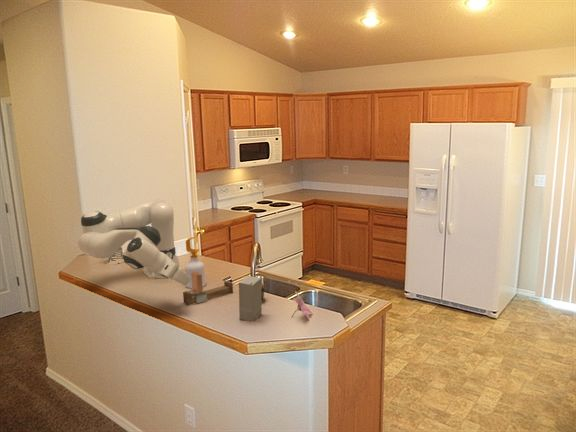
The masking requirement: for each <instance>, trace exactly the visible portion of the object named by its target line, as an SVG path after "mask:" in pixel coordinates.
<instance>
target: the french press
mask: <svg viewBox="0 0 576 432" xmlns="http://www.w3.org/2000/svg"><path fill="white" fill-rule="evenodd" d="M123 254H124V253H123V247H122V246H121V247H120V249H119V250H118V251H117V252H116V253H115V254H114V255H113V256H111V257H109V258H108V261H109V260H111V261H116V260H113V259H123ZM112 257H117V258H112ZM121 257H122V258H121ZM123 260H124V259H123Z"/></svg>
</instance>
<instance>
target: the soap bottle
mask: <svg viewBox="0 0 576 432" xmlns="http://www.w3.org/2000/svg"><path fill="white" fill-rule="evenodd" d="M197 237H198V235H195V236H194V235H193V236H191V237H189V238H187V239H186V240H185V249H186V251H187V253H190V254H191V255H190V261H189V262H187V263H186V264H185V266H184V267H185V268H184V269H185V271H184V273H185V274H186V275H187V276H189V278H190V281H189V282H188V284H187V285H186V286H185V287H187V288H188V289H192V276H191V273H193V272H198V273H200V274H202V287H203V288H204V287H205V285H206V273H205V271H206V270H205V264H204V263H203V262H202V261H200V260H199V259H198V258H199V257H198V255H197V253H198V252H199V251H200V249H199V248H198V249H197V248H191V240H193V239H196V238H197Z"/></svg>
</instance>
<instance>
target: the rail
mask: <svg viewBox="0 0 576 432" xmlns="http://www.w3.org/2000/svg"><path fill="white" fill-rule="evenodd" d="M223 284H224V285H221V286H216V287H213V288H209V289H207V290H205V291H206V294H207V301H209V300H212V299H216V298H219V297H223V296H227V295H230V294H233V293H234V287H233V285H234V284H233V281H230V280H224V281H223ZM182 297H183V300H182V301H183V304H185V305H187V306H190V305H196V304H197V303H196V301H195V296H194V295H192V294H191V293H190V292H189V290H186V291H182Z"/></svg>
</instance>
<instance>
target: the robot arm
mask: <svg viewBox="0 0 576 432" xmlns="http://www.w3.org/2000/svg"><path fill="white" fill-rule="evenodd" d="M174 216H175V214H174V209H173V207H172V206H171V204H169V203H167V202H166V201H165V200H162V199H155V200H152V201H148V202H144V203H143V204H140V205H136V206H134V207H130V208H125V209H121V210H118V211H114V212H112V213H109V214H105V213H103V212H101V211H97V210H96V211H88V212H87V213H85V214H83V215H82V216H81V218H80V225H81V226H82V232H83V234H82V235H80V237H79V238H78V240H77V246H78V249H79V250H80V251H81V252H82V253H84V254H86V255H88V256H91V257H93V258H94V257H95V258H98V259H109V257H111V256H113V255H116V254H115V253H117V251H118V250H119V249H120V247H121V248H122V246H123V245H125V243H127V242H129V243H128V244H127V246H126V249H125V251H124V253H123V260H124V263H125V264H126V265H127V266H129V267H131V268H132V269H134V270H140V269H143V268H144V269H143V270H142V271H144V272H145V273H144V272H143V273H144V275H147V276H146V277H147V279H148V278H149V279H165V278H166V279H171V280H174V281H175V282H176V283H179V284H181V285H183V286H185V287H187V286H186V285H187V284H188V282H189V281H190V278H189V276H187V275H186V273H185V271H183V268H182V267H180V261H179V259H180V258H179V256H178V255H177V254H176V253H177V252H176V247H175V238H174V237H175V236H174V226H175V225H174V224H175V221H174V218H175V217H174ZM150 225H151V226H150Z"/></svg>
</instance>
